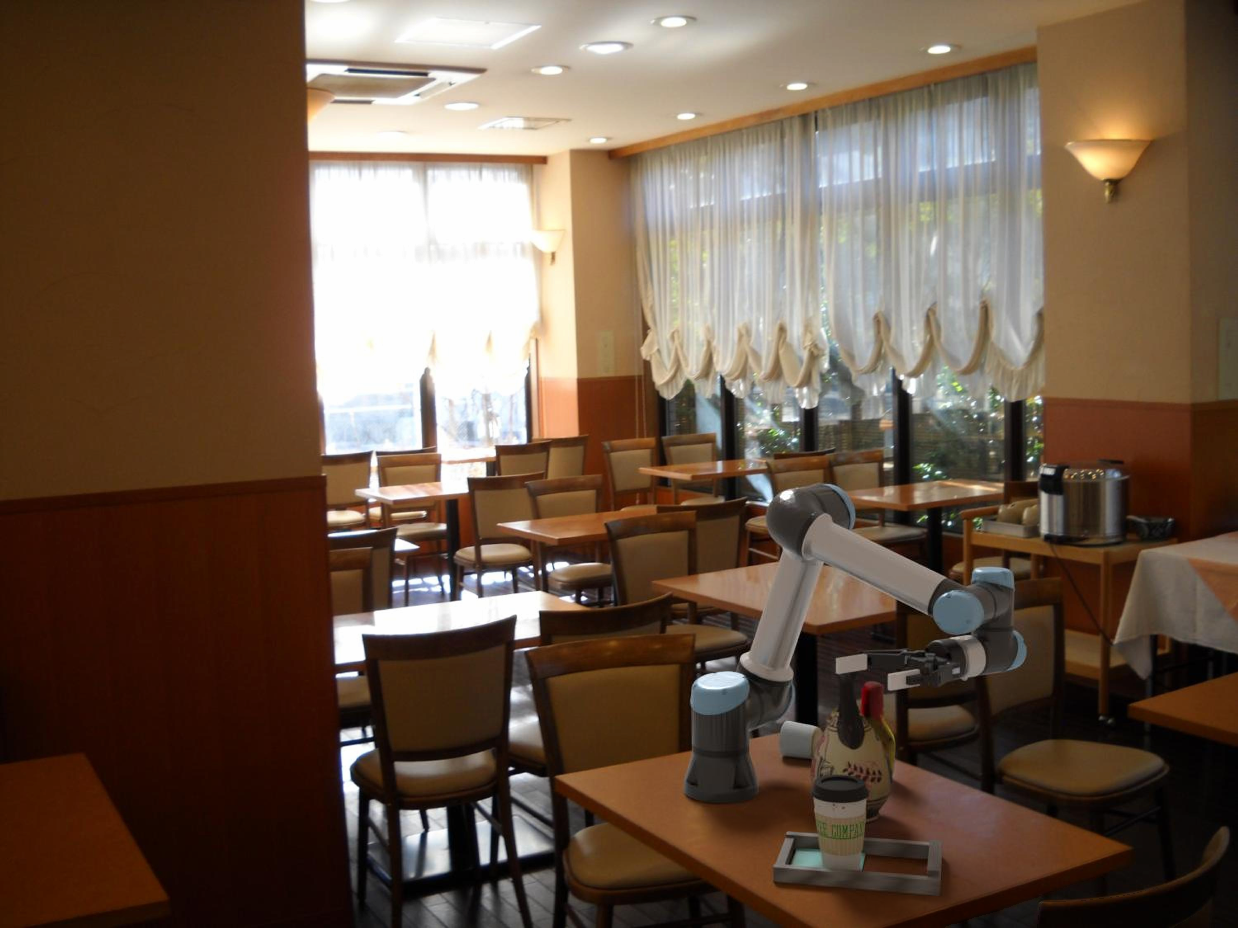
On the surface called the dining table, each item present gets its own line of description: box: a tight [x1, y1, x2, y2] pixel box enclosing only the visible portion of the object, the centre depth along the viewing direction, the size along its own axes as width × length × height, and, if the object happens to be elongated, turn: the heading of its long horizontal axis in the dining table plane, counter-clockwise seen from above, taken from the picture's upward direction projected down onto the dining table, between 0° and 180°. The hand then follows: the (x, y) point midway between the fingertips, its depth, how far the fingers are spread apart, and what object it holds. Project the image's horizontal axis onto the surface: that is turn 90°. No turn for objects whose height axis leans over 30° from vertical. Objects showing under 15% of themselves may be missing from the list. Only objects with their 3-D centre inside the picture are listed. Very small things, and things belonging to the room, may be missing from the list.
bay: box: [772, 831, 943, 897], centre depth 220 cm, size 27×17×4 cm, turn 75°
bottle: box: [859, 680, 896, 776], centre depth 270 cm, size 12×6×20 cm, turn 36°
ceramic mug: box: [778, 720, 823, 760], centre depth 286 cm, size 11×8×8 cm
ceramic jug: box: [809, 668, 894, 824], centre depth 244 cm, size 17×15×30 cm
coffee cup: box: [810, 775, 869, 871], centre depth 219 cm, size 10×10×15 cm
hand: (862, 673), depth 223 cm, fingers open, 13 cm apart
